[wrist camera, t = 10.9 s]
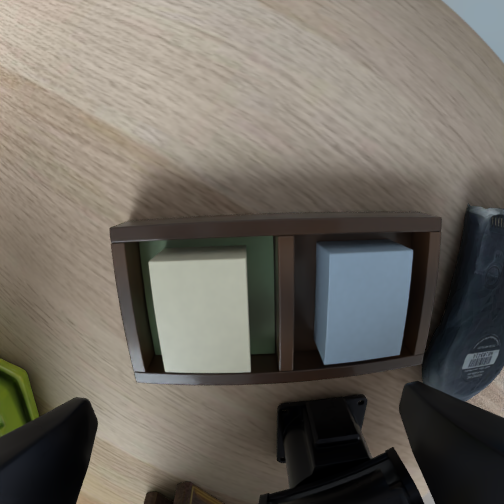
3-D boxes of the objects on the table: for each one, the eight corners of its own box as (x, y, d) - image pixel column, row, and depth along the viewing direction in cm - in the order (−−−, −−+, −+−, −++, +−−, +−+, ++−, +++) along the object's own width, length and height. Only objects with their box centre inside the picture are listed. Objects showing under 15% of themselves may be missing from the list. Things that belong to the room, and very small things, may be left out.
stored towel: (380, 332, 18) (400, 355, 16) (313, 339, 18) (323, 365, 16) (389, 239, 17) (413, 249, 14) (315, 241, 17) (329, 253, 14)
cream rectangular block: (250, 344, 18) (251, 372, 15) (175, 345, 18) (164, 372, 15) (246, 244, 17) (246, 258, 14) (163, 248, 17) (147, 261, 14)
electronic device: (432, 201, 19) (402, 404, 20) (492, 197, 13) (444, 440, 14) (503, 216, 20) (476, 382, 21) (552, 217, 15) (516, 405, 16)
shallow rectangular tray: (404, 344, 19) (421, 364, 17) (148, 359, 19) (136, 382, 17) (417, 211, 17) (442, 217, 15) (128, 220, 17) (108, 227, 15)
